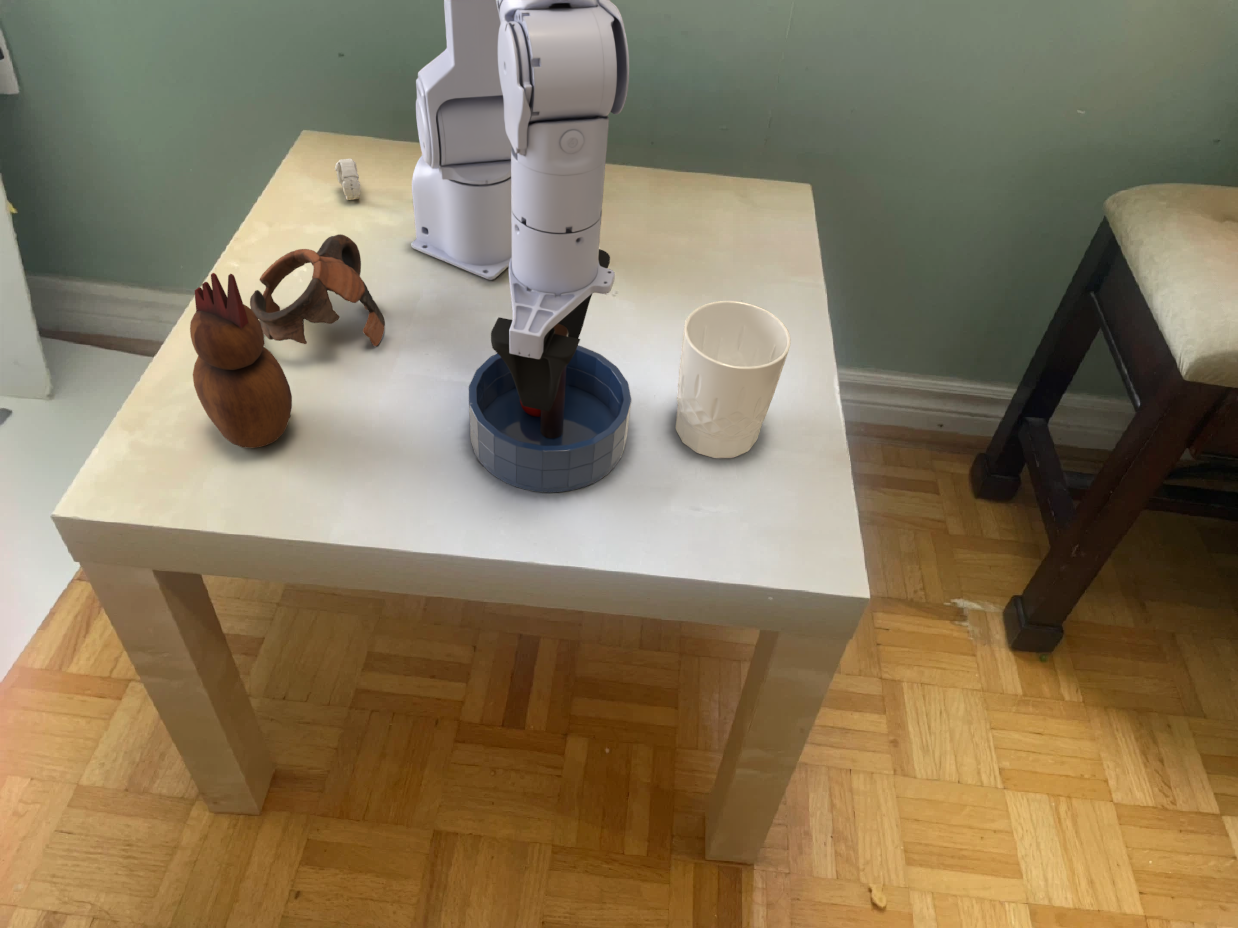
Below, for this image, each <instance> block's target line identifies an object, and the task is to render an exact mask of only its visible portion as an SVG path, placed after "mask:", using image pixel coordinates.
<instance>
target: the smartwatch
mask: <svg viewBox="0 0 1238 928" xmlns="http://www.w3.org/2000/svg"><path fill="white" fill-rule="evenodd" d="M334 172H336V178H337V179H336V180H337V182H338V183H339V184H340V185H341V186H342V189H343V190H342V191H343V195H344V197H345V199H346V201H352V200H358V199H360V194H361V192H362V189H361V183H360V181H359V179H360V176H359V173H358V167H357V162H356V161H355V160H353V158H343V159H339V160H338V161H337V162H336V163H335V167H334Z"/></svg>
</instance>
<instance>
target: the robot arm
mask: <svg viewBox="0 0 1238 928" xmlns="http://www.w3.org/2000/svg"><path fill="white" fill-rule="evenodd" d="M443 7H444V21H445V22H444V23H445V37H446V40H445V41H446V48H445V49H444V50H443V51H442V52H441V53H439V55H437V56H436V57H434V59H432V60H431V61H430V62H429V63H427V64H426V65H424V66H423V67H422V68H421V69H420V70H419V71H418V72H417V78H416V79H415V87H416V100H415V117H416V125H417V126H416V127H417V135H418V141H419V145H420V146H419V147H420V151H421V152H420V153H421V156H420V157H419V159H418V160H417V162H416V164H415V167H414V170H413V172H412V173H413V174H412V178H411V195H412V204H413V206H412V207H413V216H414V226H415V227H414V228H415V237H416V238H415V239H413V241H411V245H410V246H411V248H412V249H414V250H416V251H419V252H421V253H423V254H425V255H427V256H430V257H433V258H435V259H438V260H440V261H442V262H445V263H447V264H450V265H452V266H455V267H457V268H459V269H461V270H464V271H467V272H469V273H471V274H474V275H476V276H479V277H481V278H484V279H486V280H489V281H492V280H495V279H496V278H497V277H498V276H499V275H501V274H502V273H503V272H504V271H506V269H508V281H509V292H510V303H511V312H512V319H510V318H505V317H499V316H498V317H497V319H496V321H495V322H494V325H493V326H492V327H493V328H492V329H491V332H490V343H491V348H492V349H493V351H494V352H495V353H496V354H497V353H498V354H499V355H500V356H501V358H502V359H503V360H504V362H505V363H506V365H507V366H508V368H509V370H510V372H511V374H512V377H513V379H514V382H515V385H516V388H517V391H518V394H519V397H520V400H521V402H522V405H523V406H525V407H530V408H534V409H539V410H544V411H550V409H551V407H552V405H553V402H554V400H555V397H556V394H557V390H558V386H559V382H560V377H561V373H562V371H563V369H564V368H565V367H566V366H567V365H568V364H569V362H570V360H571V359H572V357H573V356H574V354H575V352H576V349H577V346H578V345H579V343H580V341H581V338H580V337H581V333H582V330H583V327H584V323H585V320H586V316H587V313H588V309H589V305H590V301H591V298H592V296H593V294H600V295H607V294H610V292H611V291H612V289H613V286H614V283H615V279H616V278H615V277H616V272H615V271H614V270H613V269H611V268H609V267H610V263H611V255H610V254H609V253H608V252H607V251H605V250H604V249H600V241H601V227H602V214H603V203H604V201H603V199H604V191H605V189H604V188H605V175H606V174H605V173H606V162H607V161H606V160H607V152H608V151H607V150H608V140H609V139H608V138H609V126H610V118H609V114H610V113H612V114H613V115H619V114H621V112H622V111H623V109H624V107H625V104H626V102H627V98H628V91H629V85H630V84H629V83H630V55H629V45H628V39H627V34H626V29H625V28H626V27H625V23H624V19H623V17H622V14H621V12H620V9H619V8H618V7H617V5H615V4H614V3H613V2H612V1H611V0H443ZM556 324H561V325H563V326H565V327H566V328H567V330H568V336H563V335H558V334H555V328H553V327H554V326H555V325H556Z"/></svg>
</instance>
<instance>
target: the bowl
mask: <svg viewBox="0 0 1238 928" xmlns="http://www.w3.org/2000/svg"><path fill="white" fill-rule="evenodd" d="M628 382H629V381H627V379H626V377H625V376H624V375H623V373H622V372H621V370H620V369H619V368H618V366H617V365H615V364H614V363H613V362H611V361H610V360H609V359H607V358H606V357H605V356H604V355H602V354H601V353H598V352H596V351H593V350H591V349H589V348H587V347H584V346H582V345H579V344H578V346H577V349H576V352H575V354H574V356H573V357H572V359H571V360H570V362H569V364H568V365H567V366H566V384H565V404H564V423H563V433H562V435H561V436H559V437H558V438H554V439H550V438H546V437H544V436H543V435H542V434H541V432H540V419H541V417H535V416H531V415H529V414H527V413H526V412H525V411H524V410H523V408H522V406H521V403H520V397H519V394H518V391H517V388H516V385H515V382H514V379H513V377H512V374H511V372H510V370H509V368H508V366H507V365H506V363H505V362H504V360H503V359H502V358H501V356H500V355H499V354H498V353H497V352H496V353H495V354H493V355H490V356H489V357H488V358H487V360H485V361H484V362H483V363H482V364H481V365H480V366H479V367H478V368H476V370H475V372H474V374H473V376H472V378H471V381H470V383H469V385H468V412H469V431H470V433H469V434H470V442H471V446H472V450H473V453H474V454H475V456H476V458H477V460H478V461H479V462H480V464H481V465H482V467H484V468H485V469H486V470H487V471H488V472H489V473H490V474H491V475H493V476H494V477H495V478H497V479H499V480H500V481H502V482H504V483H505V484H508V485H510V486H513V487H514V488H518V489H522V490H526V491H532V492H537V493H563V492H570V491H575V490H579V489H582V488H585V487H588V486H591V485H592V484H594V483H596V482H598V481H599V480H601V479H603V478H604V477H605V476H607V475H608V474H609V473H610V472H611V471H612V470H614V468H615V467H616V466H617V465H618V463H619V461H620V460H621V458H622V456H623V453H624V451H625V448H626V442H627V438H628V431H629V422H630V416H631V409H632V395H631V389H630V385H629V383H628Z"/></svg>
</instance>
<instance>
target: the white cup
mask: <svg viewBox="0 0 1238 928" xmlns="http://www.w3.org/2000/svg"><path fill="white" fill-rule="evenodd" d="M791 341H792V339H791V335H790V332H789V330H788V328H787V326H786V324H784V323H783V321H782V320H781V319H780V318H779V317H778V316H777V315H775V314H773V313H772V312H771V311H768V310H767V309H764V308H763V307H760V306H758V305H755V304H752V303H748V302H744V301H738V300H719V301H712V302H708V303H705V304H703V305H700V306H698V307H696V308H694V310H692V311H691V312H690V313H689V314H688V316H687V317H686V319H685V321H684V325H683V333H682V342H681V343H682V344H681V353H680V360H679V368H678V381H677V393H676V400H677V411H676V421H675V431H676V433H677V435H678V436H679V438H680V440H681V442H682V443H683V444H684V445H685V446H687V447H688V448H689V449H690V450H692V451H694V452H695V453H697V454H700V455H703V456H706V457H709V458H713V459H733V458H736V457H738V456H741V455H743V454H745V453H747V452H749V451H750V450H751V449H752V447H753V446H754V445H755V444H756V442H757V441H758V438H759V435H760V432H761V429H762V426H763V423H764V421H765V419H766V417H767V415H768V413H769V410H770V406H771V403H772V401H773V399H774V395H775V393H776V391H777V387H778V384H779V381H780V378H781V375H782V372H783V369H784V366H785V363H786V360H787V358H788V355H789V351H790V348H791Z"/></svg>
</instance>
